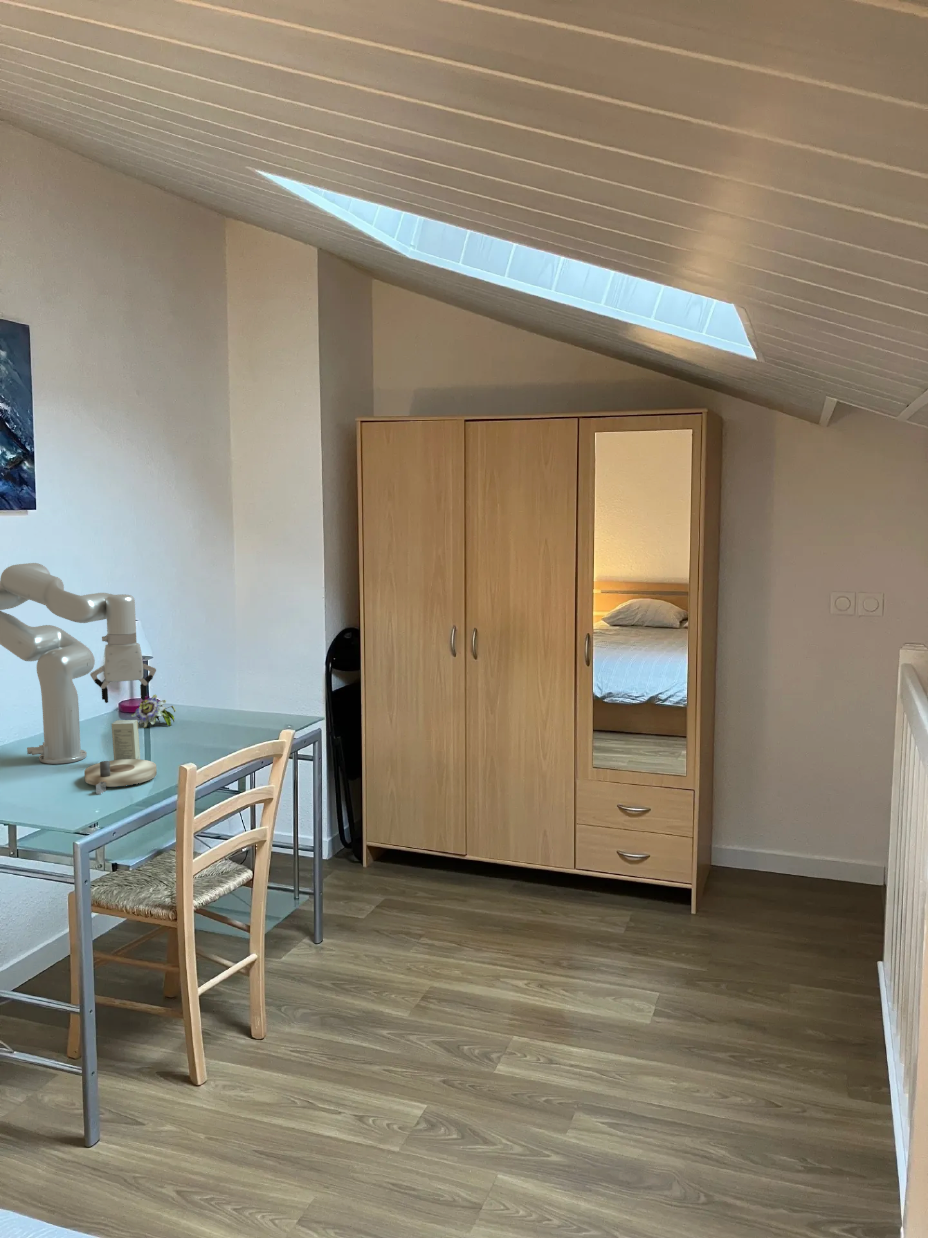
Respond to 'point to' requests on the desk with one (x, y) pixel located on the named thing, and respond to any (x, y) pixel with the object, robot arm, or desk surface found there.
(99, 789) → the grey small block
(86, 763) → the desk surface
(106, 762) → the turntable
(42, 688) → the robot arm
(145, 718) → the passion flower
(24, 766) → the desk surface
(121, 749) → the skincare box
